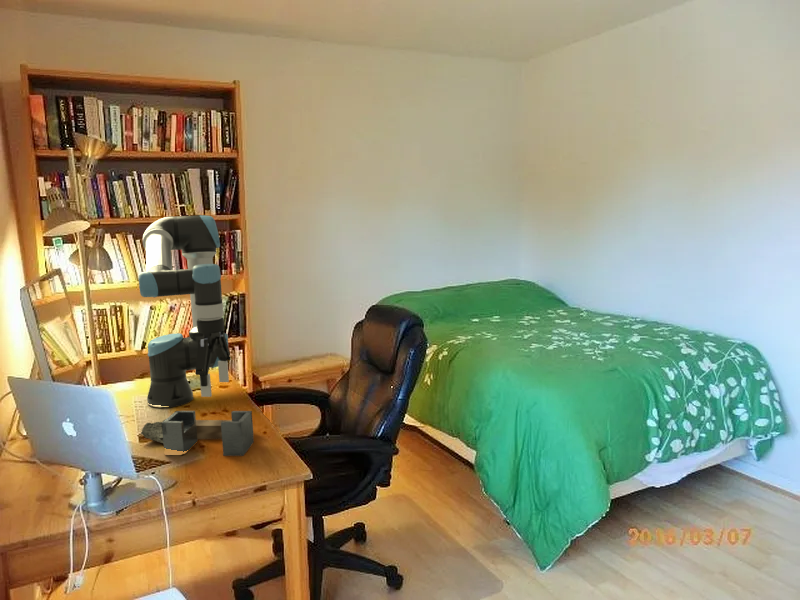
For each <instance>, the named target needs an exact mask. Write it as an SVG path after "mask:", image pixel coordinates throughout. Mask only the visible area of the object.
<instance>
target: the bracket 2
mask: <svg viewBox="0 0 800 600" xmlns="http://www.w3.org/2000/svg"><path fill="white" fill-rule="evenodd" d="M230 414H231V416H230V417H231V420H232V421H222V422H221V431H222V439H221V445H222V455H223V456H224V457H227V456H229V457H231V456H232V457H235V456H236V457H244V456H245V454H246V453H247V452H248V450H249V449H250V448H251V446H252V445H253V444H254V442H255V440H254V439H255V438H254V423H252V421H253V411H252V410H232V411H231V412H230Z"/></svg>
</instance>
